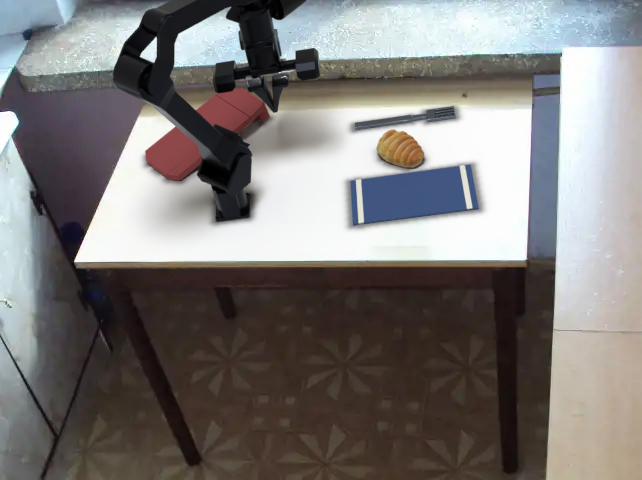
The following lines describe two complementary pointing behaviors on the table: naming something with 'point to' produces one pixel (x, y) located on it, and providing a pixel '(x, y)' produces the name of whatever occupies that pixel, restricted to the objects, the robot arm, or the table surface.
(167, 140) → the red angular block
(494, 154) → the table surface
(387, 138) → the pastry
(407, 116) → the fork
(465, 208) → the napkin
